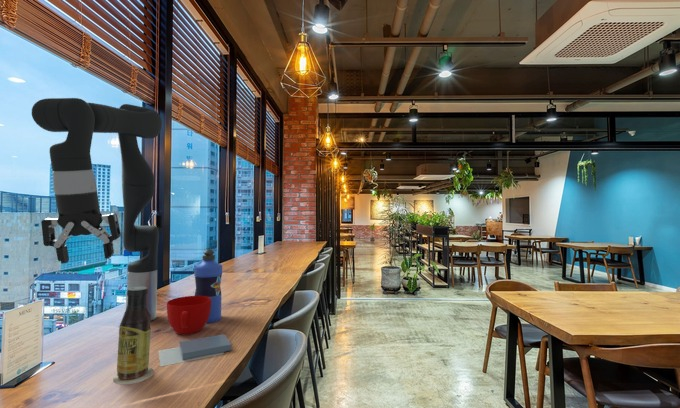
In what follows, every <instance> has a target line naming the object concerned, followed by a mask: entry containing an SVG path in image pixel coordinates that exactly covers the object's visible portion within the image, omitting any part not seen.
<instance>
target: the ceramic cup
mask: <svg viewBox="0 0 680 408" xmlns="http://www.w3.org/2000/svg"><path fill="white" fill-rule="evenodd" d="M210 309H211V298H210V297H207V296H195V295H186V296H182V297H181V296H180V297H179V296H178V297H176V298H173V299H169V300H168V301H167V302H166V315H167V320H168V323H169V325H170V327H171V329H172V330H173V331H174V332H175V333H176V334H178V335H181V336H186V335H193V334H197V333H199V332H200V331H202V329H203V328H204V327H205V325H206V324H207V323H206V322H207V320H208V318H209V315H210Z"/></svg>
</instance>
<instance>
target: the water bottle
mask: <svg viewBox="0 0 680 408" xmlns="http://www.w3.org/2000/svg"><path fill="white" fill-rule="evenodd" d="M214 253H215V251H214V250H213V249H212V248H206V249H205V250H204V251H203V255H202V262H201V263H199V264H196V265H194V280H195V281H194V282H195V292H194V296H207V297H210V298H211V309H210V315H209V318H208V320H207V322H206V324H213V323H216V322H219V321H220V320H221V319H222V289H221V282H222V276H223V264H220V263H219V262H216V261H215V260H216V255H215V254H214Z"/></svg>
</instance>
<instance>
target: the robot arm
mask: <svg viewBox="0 0 680 408" xmlns="http://www.w3.org/2000/svg"><path fill="white" fill-rule="evenodd" d="M31 116H32V120H33V121H34V123H35V124H36V125H37V126H38V127H39V128H42V129H43V130H44V131H47V132H51V133H66V132H67V135H66V137H65V138H66V139H65V140H64V141H62V142H59V143H54V144H52V145H51V146H50V148H49V157H50V164H51V165H50V166H51V169H52V184H53V185H52V186H53V189H52V190H53V192H54V197H55V203H56V209H57V214H58V217H57V218H52V217H47V218H44V219H42V220H41V222H40V223H41V231H42V232H41V233H42V242H43V243H42V244H43V246H45V247H54V249H55V252H56V256H57V257H56V258H57V261H58V262H60V263H61V264H67V263H68V262H70V256H69V250H68V245H66V243H67V242H68V241H69V239H70V238H71V237H72V236H73V237H79V236H90V235H91V234H92V235H93V236H94V237H95V238H98V239H99V240H100V241H101V242H103V244H102V247H103V253H104V259H106V260H107V259H110V258H112V256H113V255H114V253H115V251H114V243H113V242H114V241H116V240H118V239H119V238H120V237H121V236H122V239H123V240H122V244H123V249H124V250H125V251H126V252H128V253H129V252H130V253H136V252H137V253H140V252H147V254H146V255H145V256H143V257H141V258H140V259H138V260H134V261H131V262H129V263H128V264H127V269H126V270H127V276H126V277H127V278H126V291H127V290H128V289H129V288H132V287H147V288H148V293H147V295H146V308H147V310H148V312H149V313H150V315H151V321H153V320H155V319H157V301H158V255H159V254H158V253H159V242H160V241H159V240H160V232H159V230H160V229H159V228H158V227H157V226H156V225H135V222H136V221H137V218H138V217H139V216H140V214H141V212H143V210H144V209H145V207H146V206H147V205H148V204H149V203H150V202H151V200H152V199H153V197H154V195H155V174H154V172H153V170H152V168H151V167H150V165H149V163H148V162H147V160H146V158H144V156H143V154H142V152H141V150H140V147H139V144H138V138H142V139H148V140H149V139H155V138H157V137H158V136H159V134H160V133H161V131H162V125H163V121H162V120H163V119H162V117H161V115H160V114H159V112H157V110H154V109H151V108H149V107H144V106H140V105H133V104H129V103H123V104H122V105H120V106H119V107H114V106H110V105H108V104H107V105H106V104H101V103H94V102H87V101H86V100H83V99H81V98H78V97H77V98H76V97H63V98H62V97H60V98H56V97H54V98H52V97H51V98H50V97H49V98H48V97H47V98H43V99H40V100H38V101H36V102H35V103H34V104H33V105H32V107H31ZM94 133H95V134H97V133H102V134H117V136H118V142H119V143H118V144H119V151H120V160H121V191H122V203H123V228H122V229H123V230H122V233H121V228H120V223H119V220H118V214H117V213H115V212H112V213H111V214H102V213H101V209H100V208H101V207H100V201H99V196H98V195H99V194H98V187H97V181H96V177H95V174H94V170H93V163H92V158H91V157H92V156H91V148H92V147H91V146H92V140H93V135H94ZM103 221H105V224H107V225H108V227H109V231H110V234H109V232H107V229H106V228H104V227H103V226H102V225H101V224H102V222H103ZM57 226H60V228H62V229H63V230H62V231H61V233H60V234H59V236H58V238H56V232H55V231H56V230H55V228H56V227H57ZM122 234H123V235H122ZM127 302H128V296H127V292H126V293H125V309H126V308H127Z"/></svg>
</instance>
